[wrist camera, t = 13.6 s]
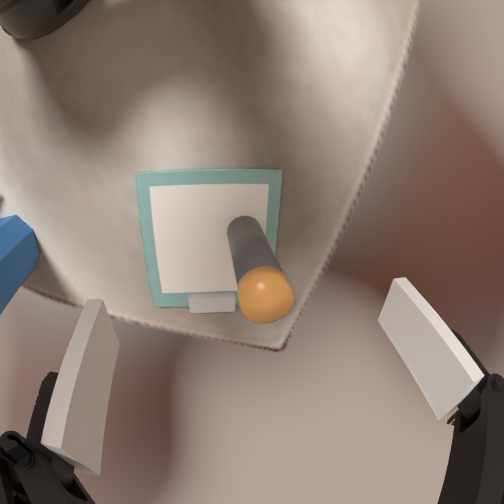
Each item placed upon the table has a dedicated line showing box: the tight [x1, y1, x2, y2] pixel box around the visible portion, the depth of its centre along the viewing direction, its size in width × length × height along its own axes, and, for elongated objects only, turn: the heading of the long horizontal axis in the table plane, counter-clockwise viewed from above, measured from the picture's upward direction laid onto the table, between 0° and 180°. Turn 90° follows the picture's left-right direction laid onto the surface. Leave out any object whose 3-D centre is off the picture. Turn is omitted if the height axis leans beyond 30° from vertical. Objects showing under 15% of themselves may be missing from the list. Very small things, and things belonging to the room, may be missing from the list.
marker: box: [227, 216, 294, 323], centre depth 27 cm, size 4×4×13 cm
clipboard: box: [136, 169, 283, 313], centre depth 33 cm, size 18×16×2 cm
